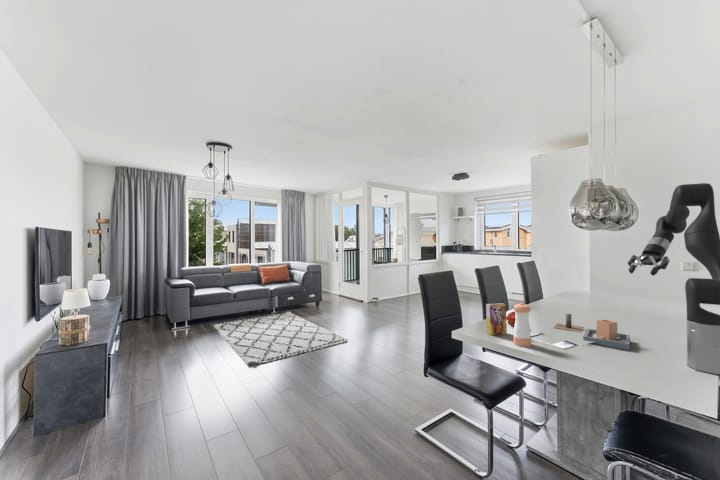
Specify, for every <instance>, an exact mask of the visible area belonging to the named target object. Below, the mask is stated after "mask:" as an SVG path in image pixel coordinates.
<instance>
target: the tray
mask: <svg viewBox="0 0 720 480" xmlns="http://www.w3.org/2000/svg"><path fill="white" fill-rule="evenodd" d="M590 334H594V335H595V334H596V335H597V329H592V328H586V330H585V332H584V334H583V336H582V337H583V339H582V340H583V341H588V342H589V343H588V342H587V345H592V346H593V345H594V346H597V347H598V346H599V347H603V348H609V349H610V348H611V349H614V350H615V349H616V350H621V351H626V352H630V346H631V337H630V336H631V335H630V334H627V333H626V334H625V333H620V332H619V333H618V332H617V341H611V340H605V339H599V338H597V337H593V336H592V337H591V336H589V335H590Z"/></svg>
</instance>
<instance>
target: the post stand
mask: <svg viewBox="0 0 720 480" xmlns="http://www.w3.org/2000/svg"><path fill="white" fill-rule="evenodd" d="M553 329H555V330H562V331H569V332H575V333H580V334H581V333H582V332H583V330H584V329H585V327H584V326H580V325H573V324H572V314H571V313H565V323H560V322H557V323H555V325H554V326H553Z"/></svg>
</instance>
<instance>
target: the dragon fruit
mask: <svg viewBox="0 0 720 480" xmlns="http://www.w3.org/2000/svg"><path fill="white" fill-rule="evenodd" d="M506 321H507V325H509V326H513V327H514V326H515V311H511V312H509V313H508V314H507V315H506Z"/></svg>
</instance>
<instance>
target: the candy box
mask: <svg viewBox="0 0 720 480" xmlns="http://www.w3.org/2000/svg"><path fill="white" fill-rule="evenodd" d="M485 312H486V313H485V316H486V318H485V319H486V334H488V335H489V334H490V336H501V335H502V336H503V335H508V331H507V329H508V328H507V325H508V323H507V320H506V318H507V304H505V303H501V302H498V303H485Z"/></svg>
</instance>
